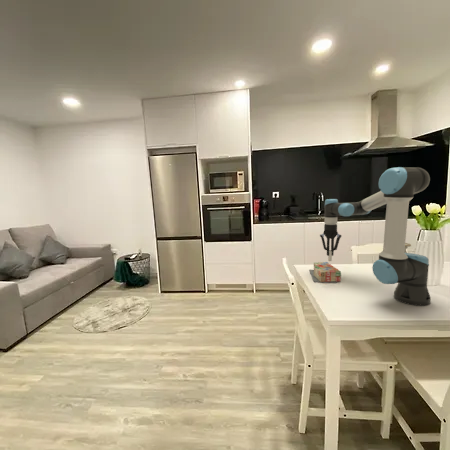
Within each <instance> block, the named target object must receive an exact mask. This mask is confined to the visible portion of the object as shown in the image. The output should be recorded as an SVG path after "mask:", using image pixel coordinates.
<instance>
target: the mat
mask: <svg viewBox="0 0 450 450" xmlns="http://www.w3.org/2000/svg"><path fill="white" fill-rule="evenodd" d="M308 271H309V274H310V276H311V278H312V281H313V282H314V283H323V284H324V283H329V284H337V282H338V281H331V282H320V281H319V280H318V279H317V278H316V277H315V276H314V269H309V270H308Z"/></svg>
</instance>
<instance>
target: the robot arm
mask: <svg viewBox="0 0 450 450" xmlns="http://www.w3.org/2000/svg"><path fill="white" fill-rule="evenodd" d="M430 181H431V177H430V174H429V172H428V171H427V170H426V169H424V168H422V167H419V166H417V167H414V166H413V167H406V166H405V167H404V166H403V167H402V166H398V167H391V168H388V169H386V170H385V171H384V172H383V173H382V174H381V176H380V177H379V179H378V189H379V190H380V191H378V192H376V193H374V194H372V195H370V196H368V197H366V198H363V199H362V200H360V201H357V202H355V201H353V202H339V200H338V199H337V198H329V199H328V198H327V199H325V201H324V221H323V222H324V225H323V226H324V228H323V229H324V230H323V233H321V234H319V237H320V239H321V242H322V247H323V249H324V251H326V256H327V257H328V258H327V259H328V261H329V262H332V261H333V260H332V257H333V256H334V251H337V250H338V246H339V243H340V240H341V238H342V234H339V232H338V216H340V217H341V216H342V217H350V216H360V215H361V216H363V215H368V214H370V213H371V212H372V210H375V209H377V208H380V207H382V206H385V205H386V210H385V221H384V222H385V223H384V234H383V246H382V247H383V248H382V249H383V250H382V251H381V252H378V259H377V260H375V262H373V263H372V267H371V268H372V274H373V276H375V278H376V279H377V280H378V282H380V283H382V284H385V285H395V284H397V285H396V287H395V289H394V292H393V298H394V299H395V300H397V302H400V303H404V304H408V305H411V306H419V307H420V306H428V305H430V304H431V302H432V301H431V298H432V297H431V296H430V292H429V289H428V276H429V267H430V264H429V262H430V261H429V258H428V257H427V256H426V255H422V254H417V253H411V252H407V253H404V251H405V243H406V239H407V227H408V217H409V207H410V205H409V204H410V202H411V200H412V199H413V198H414V197H415V196H414V195H416V194H418V193H420V192H423V191H424V190H426V189H427V187H429V185H430ZM325 238H326V242H325Z"/></svg>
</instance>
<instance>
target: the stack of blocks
mask: <svg viewBox="0 0 450 450" xmlns="http://www.w3.org/2000/svg"><path fill="white" fill-rule="evenodd" d="M313 270H314V276H315V277H316V278H317V279H318V280H319V281H320V282H319V283H322V282H331V281H336V282H341V279H342V278H341V276H342V275H341V273H342V272H341V270H339V269H338V268H337V267H335V266H333V265H332V264H330V263H329V262H327V261H325V262H324V261H322V262H321V261H318V262H313Z"/></svg>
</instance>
